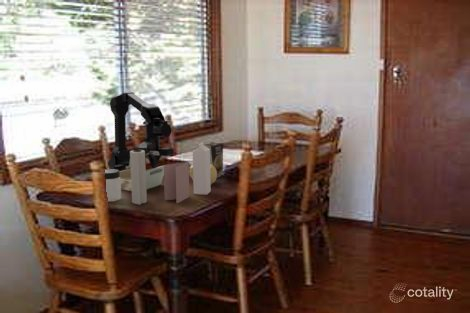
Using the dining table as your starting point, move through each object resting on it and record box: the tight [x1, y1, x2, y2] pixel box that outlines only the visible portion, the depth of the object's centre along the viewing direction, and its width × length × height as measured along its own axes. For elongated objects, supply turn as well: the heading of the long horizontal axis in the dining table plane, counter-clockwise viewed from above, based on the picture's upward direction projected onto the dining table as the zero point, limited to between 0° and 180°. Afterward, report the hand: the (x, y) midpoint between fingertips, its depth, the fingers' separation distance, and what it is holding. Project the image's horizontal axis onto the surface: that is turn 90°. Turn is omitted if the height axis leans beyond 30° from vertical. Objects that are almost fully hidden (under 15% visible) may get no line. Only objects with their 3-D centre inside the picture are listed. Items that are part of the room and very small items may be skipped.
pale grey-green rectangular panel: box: [146, 164, 165, 190], centre depth 263 cm, size 1×15×10 cm, turn 151°
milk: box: [192, 141, 212, 196], centre depth 254 cm, size 6×6×22 cm
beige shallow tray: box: [119, 167, 132, 192], centre depth 268 cm, size 14×16×7 cm
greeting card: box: [163, 161, 190, 204], centre depth 243 cm, size 11×7×15 cm, turn 123°
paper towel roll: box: [129, 149, 148, 206], centre depth 239 cm, size 7×6×21 cm
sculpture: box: [189, 163, 218, 185], centre depth 271 cm, size 12×12×11 cm
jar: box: [104, 168, 122, 202], centre depth 246 cm, size 9×8×12 cm
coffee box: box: [203, 142, 224, 178], centre depth 287 cm, size 9×6×16 cm
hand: (154, 169), depth 262 cm, fingers closed
